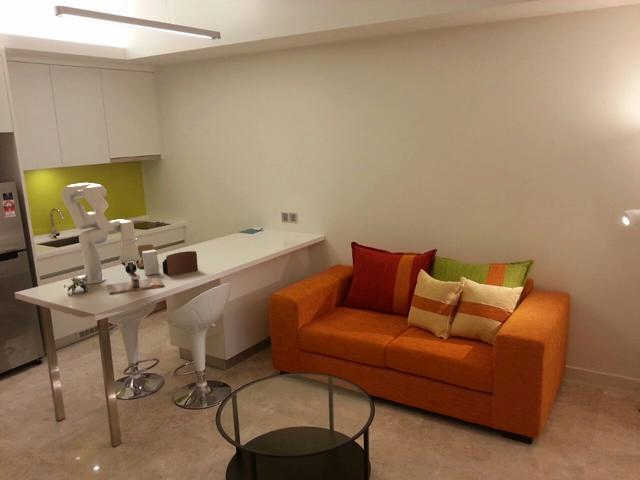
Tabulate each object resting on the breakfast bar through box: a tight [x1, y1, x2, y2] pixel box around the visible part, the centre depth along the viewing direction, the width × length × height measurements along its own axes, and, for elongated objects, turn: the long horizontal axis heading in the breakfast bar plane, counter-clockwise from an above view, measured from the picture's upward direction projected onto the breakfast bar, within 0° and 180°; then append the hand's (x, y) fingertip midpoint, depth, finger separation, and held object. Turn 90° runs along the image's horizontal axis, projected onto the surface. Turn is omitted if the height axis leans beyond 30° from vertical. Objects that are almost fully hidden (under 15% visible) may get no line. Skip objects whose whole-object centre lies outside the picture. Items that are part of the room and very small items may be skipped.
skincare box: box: [142, 249, 160, 276], centre depth 345 cm, size 8×6×15 cm
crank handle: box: [127, 261, 141, 280], centre depth 314 cm, size 14×4×8 cm, turn 33°
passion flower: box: [63, 276, 90, 295], centre depth 308 cm, size 11×11×12 cm
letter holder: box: [161, 250, 199, 277], centre depth 346 cm, size 10×20×14 cm, turn 124°
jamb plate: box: [106, 277, 165, 296], centre depth 317 cm, size 30×18×6 cm, turn 115°
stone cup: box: [136, 243, 155, 269], centre depth 366 cm, size 15×12×15 cm
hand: (131, 272), depth 319 cm, fingers open, 3 cm apart
